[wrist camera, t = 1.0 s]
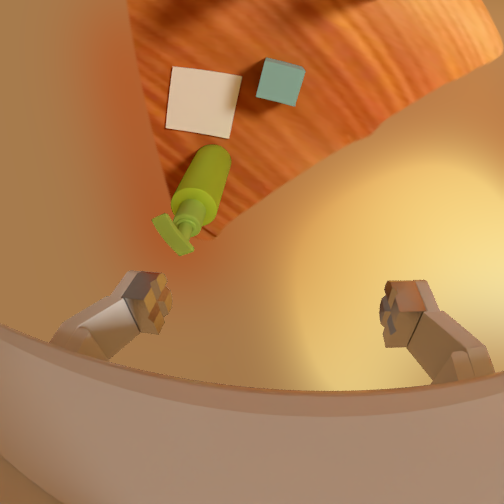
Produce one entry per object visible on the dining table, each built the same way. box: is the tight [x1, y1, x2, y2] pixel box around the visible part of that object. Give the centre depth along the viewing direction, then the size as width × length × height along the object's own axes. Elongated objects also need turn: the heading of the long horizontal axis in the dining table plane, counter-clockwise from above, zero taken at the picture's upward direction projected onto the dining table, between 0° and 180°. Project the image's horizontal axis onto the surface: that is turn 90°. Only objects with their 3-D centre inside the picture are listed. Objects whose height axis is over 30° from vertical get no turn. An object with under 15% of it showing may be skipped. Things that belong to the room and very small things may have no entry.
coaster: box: [166, 67, 243, 139], centre depth 37 cm, size 10×10×1 cm
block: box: [256, 58, 305, 106], centre depth 32 cm, size 5×5×5 cm
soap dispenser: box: [152, 145, 231, 256], centre depth 37 cm, size 6×7×20 cm
